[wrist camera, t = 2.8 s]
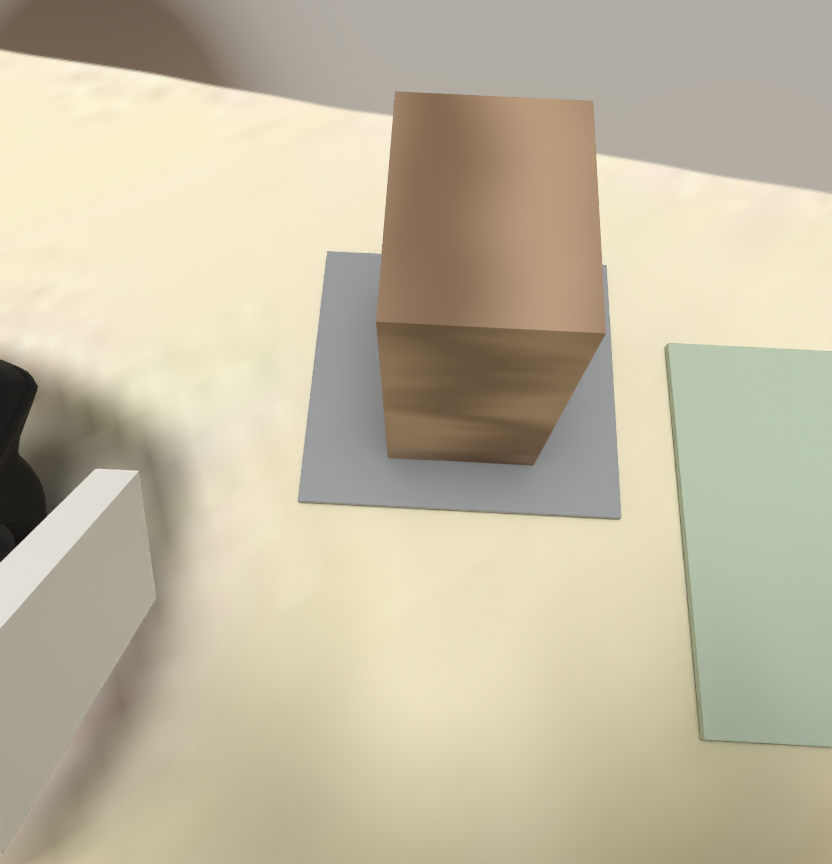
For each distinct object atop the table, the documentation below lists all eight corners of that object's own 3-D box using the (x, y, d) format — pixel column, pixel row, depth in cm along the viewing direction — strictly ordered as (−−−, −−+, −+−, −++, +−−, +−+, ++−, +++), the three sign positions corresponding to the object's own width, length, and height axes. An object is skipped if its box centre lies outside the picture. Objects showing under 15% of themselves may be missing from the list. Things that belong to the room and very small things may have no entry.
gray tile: (604, 268, 32) (606, 265, 31) (618, 519, 27) (621, 517, 27) (327, 255, 32) (327, 251, 32) (299, 502, 28) (298, 500, 27)
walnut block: (531, 298, 31) (593, 100, 21) (533, 465, 28) (606, 333, 18) (399, 291, 31) (395, 91, 21) (387, 457, 28) (376, 321, 18)
